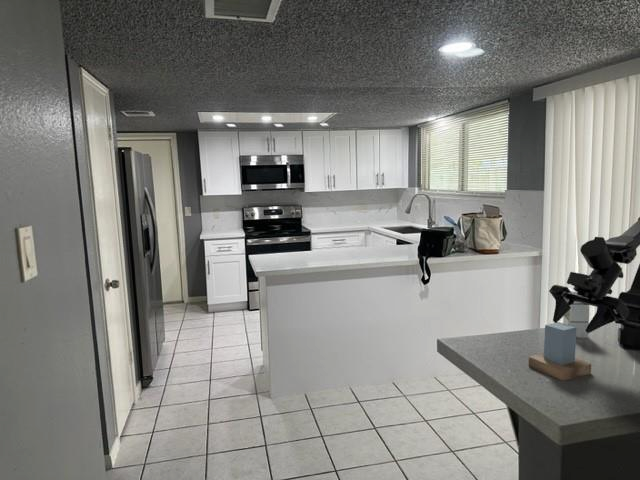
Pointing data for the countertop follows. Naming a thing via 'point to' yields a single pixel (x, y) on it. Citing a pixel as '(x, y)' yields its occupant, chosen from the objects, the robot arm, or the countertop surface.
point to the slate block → (560, 343)
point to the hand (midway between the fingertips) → (569, 326)
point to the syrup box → (578, 317)
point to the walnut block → (560, 367)
